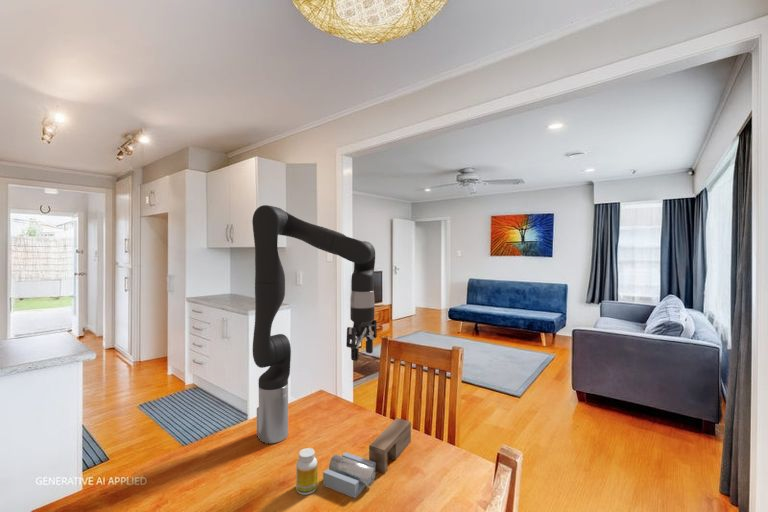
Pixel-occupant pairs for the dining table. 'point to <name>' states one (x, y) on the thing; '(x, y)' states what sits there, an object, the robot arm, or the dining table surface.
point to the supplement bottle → (306, 472)
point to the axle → (352, 469)
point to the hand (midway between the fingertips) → (362, 356)
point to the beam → (390, 443)
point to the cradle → (346, 478)
